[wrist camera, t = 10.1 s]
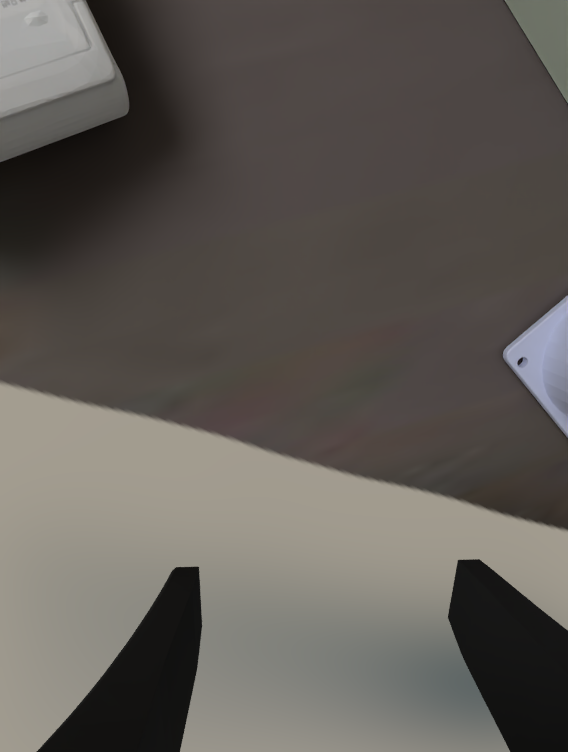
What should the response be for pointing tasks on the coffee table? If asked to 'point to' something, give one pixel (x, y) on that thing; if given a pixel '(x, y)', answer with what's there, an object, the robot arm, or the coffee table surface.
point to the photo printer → (53, 74)
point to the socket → (546, 34)
